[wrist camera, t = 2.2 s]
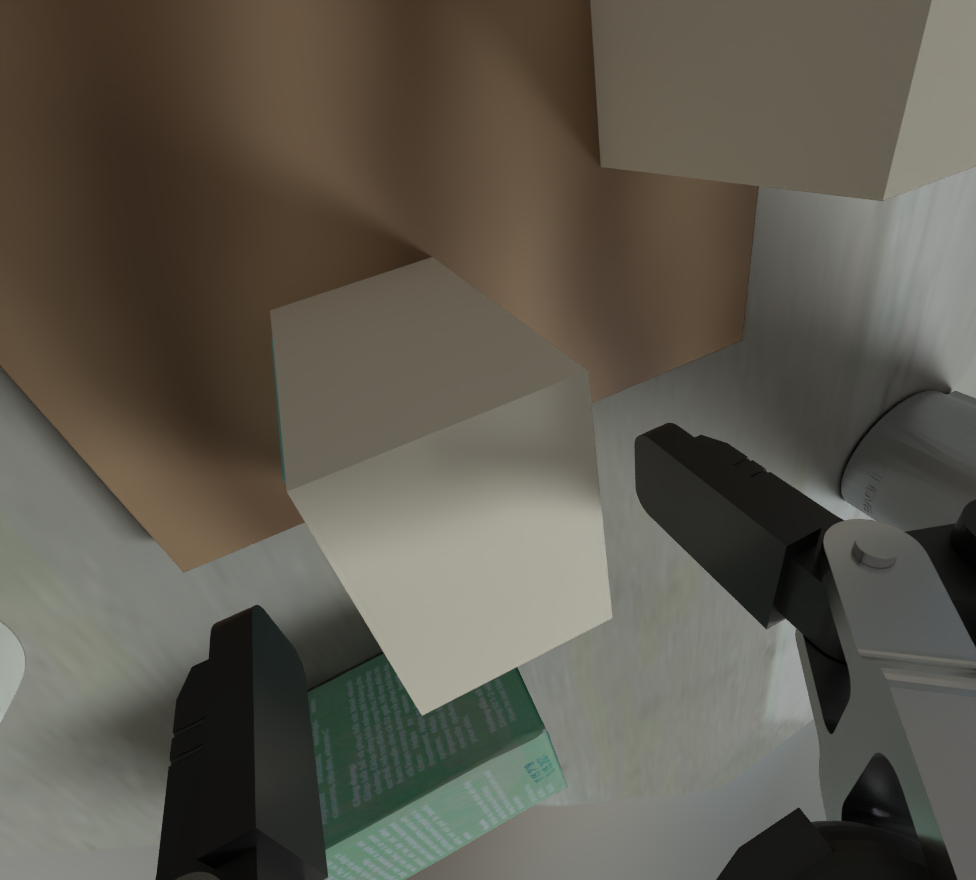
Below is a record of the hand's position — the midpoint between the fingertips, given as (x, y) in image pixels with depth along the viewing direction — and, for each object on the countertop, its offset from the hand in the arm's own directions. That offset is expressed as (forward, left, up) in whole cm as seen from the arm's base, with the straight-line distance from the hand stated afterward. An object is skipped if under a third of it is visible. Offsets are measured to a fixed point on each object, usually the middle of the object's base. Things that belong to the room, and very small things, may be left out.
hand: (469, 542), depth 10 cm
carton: (0, 0, -8) cm, 8 cm away
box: (+6, +19, -10) cm, 22 cm away
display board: (-3, -4, -10) cm, 11 cm away
